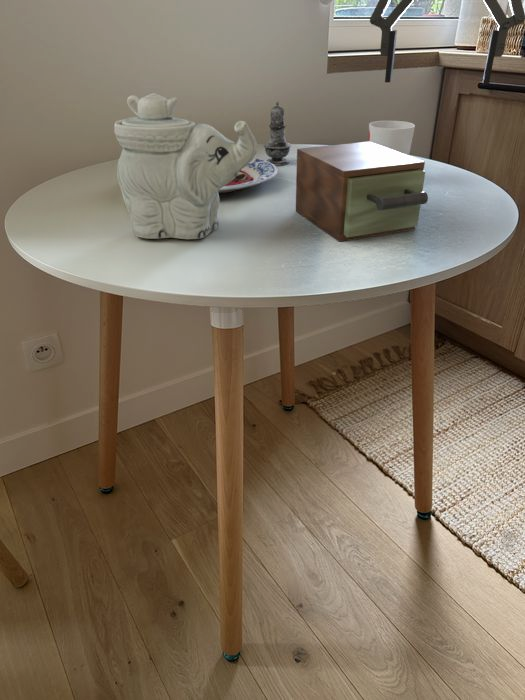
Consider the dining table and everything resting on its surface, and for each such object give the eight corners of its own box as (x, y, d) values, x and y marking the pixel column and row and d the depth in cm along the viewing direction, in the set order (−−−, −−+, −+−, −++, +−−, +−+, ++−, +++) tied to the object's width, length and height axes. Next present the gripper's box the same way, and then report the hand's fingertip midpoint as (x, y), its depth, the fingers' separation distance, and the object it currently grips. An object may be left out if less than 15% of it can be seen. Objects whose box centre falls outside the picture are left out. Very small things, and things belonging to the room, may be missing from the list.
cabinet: (415, 229, 81) (425, 161, 75) (339, 241, 77) (344, 171, 71) (363, 201, 92) (369, 141, 87) (295, 211, 88) (296, 148, 83)
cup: (380, 172, 108) (386, 119, 103) (415, 180, 103) (423, 124, 98) (355, 180, 103) (360, 124, 98) (391, 189, 98) (398, 130, 93)
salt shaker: (273, 157, 119) (273, 98, 113) (296, 161, 117) (297, 100, 110) (258, 163, 115) (257, 102, 109) (281, 167, 113) (281, 104, 106)
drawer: (435, 236, 76) (445, 178, 71) (363, 248, 72) (369, 188, 68) (368, 200, 90) (373, 150, 85) (305, 209, 86) (306, 158, 82)
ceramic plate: (274, 163, 115) (274, 149, 113) (281, 200, 93) (281, 183, 92) (152, 166, 114) (150, 151, 113) (130, 203, 93) (128, 186, 91)
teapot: (262, 232, 80) (260, 93, 70) (179, 261, 71) (164, 106, 61) (193, 208, 90) (183, 83, 80) (114, 230, 81) (91, 93, 71)
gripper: (358, -106, 67) (346, 83, 79) (579, -120, 61) (531, 87, 72) (366, -97, 73) (353, 77, 85) (568, -109, 67) (525, 81, 79)
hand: (435, 82), depth 79 cm, fingers open, 13 cm apart
